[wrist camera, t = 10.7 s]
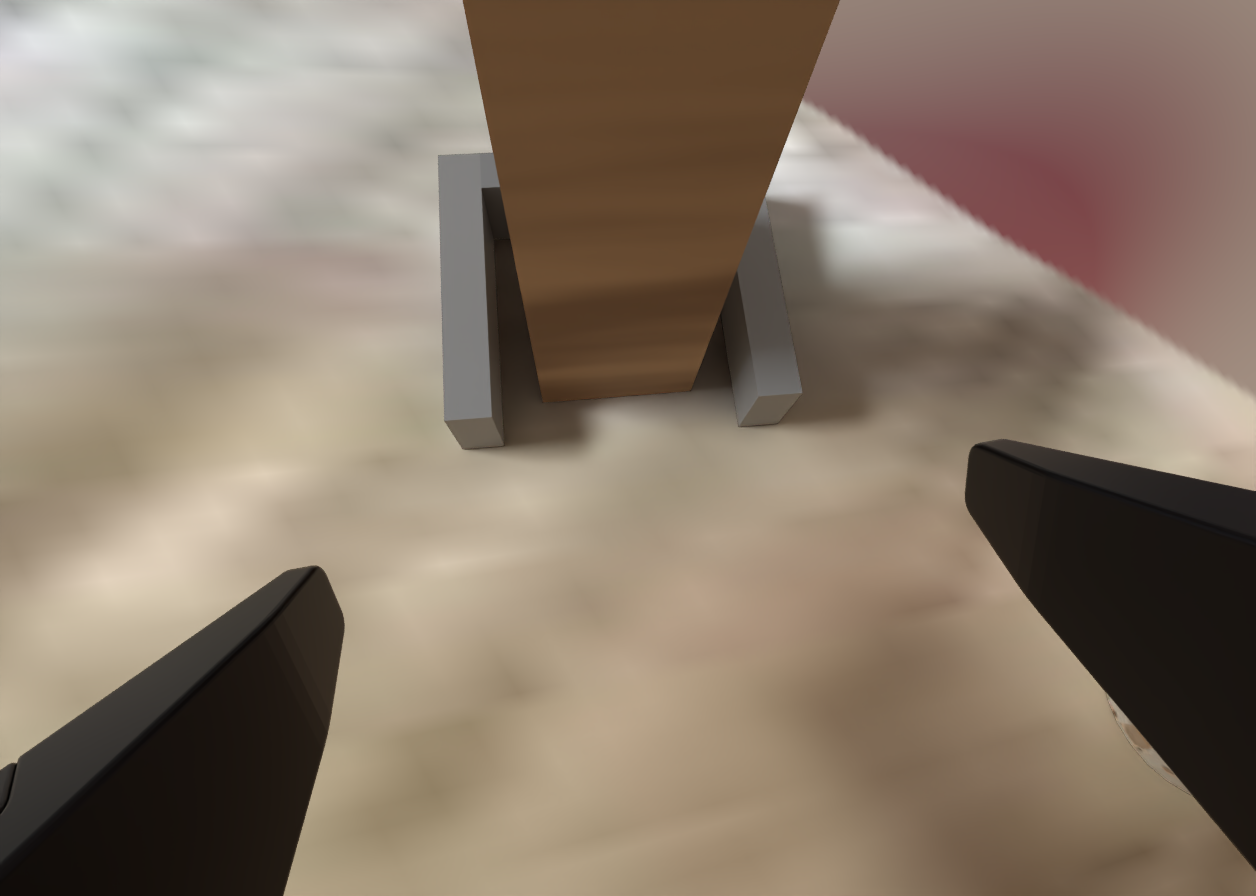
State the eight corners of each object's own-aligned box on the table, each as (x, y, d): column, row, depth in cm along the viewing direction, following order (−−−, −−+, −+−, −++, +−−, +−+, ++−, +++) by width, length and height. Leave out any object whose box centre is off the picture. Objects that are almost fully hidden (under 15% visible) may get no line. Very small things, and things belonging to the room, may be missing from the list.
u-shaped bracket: (777, 423, 20) (802, 392, 18) (462, 449, 19) (444, 420, 17) (737, 195, 22) (754, 140, 20) (455, 209, 22) (438, 155, 19)
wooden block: (690, 390, 20) (848, -25, 8) (543, 402, 20) (459, -13, 7) (672, 262, 21) (783, -271, 9) (533, 271, 21) (448, -272, 9)
